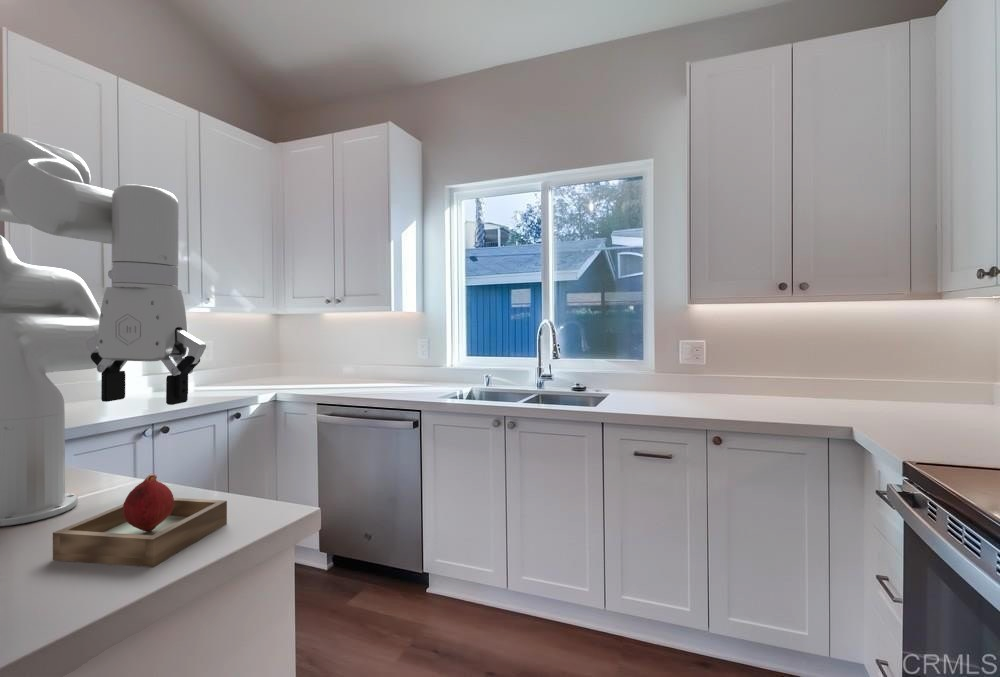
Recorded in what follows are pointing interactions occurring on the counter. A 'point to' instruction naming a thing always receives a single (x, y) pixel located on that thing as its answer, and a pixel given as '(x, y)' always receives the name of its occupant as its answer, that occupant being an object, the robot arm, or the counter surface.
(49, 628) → the counter surface
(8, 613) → the counter surface
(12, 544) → the counter surface
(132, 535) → the tray
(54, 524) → the counter surface
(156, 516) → the dark red round piece
